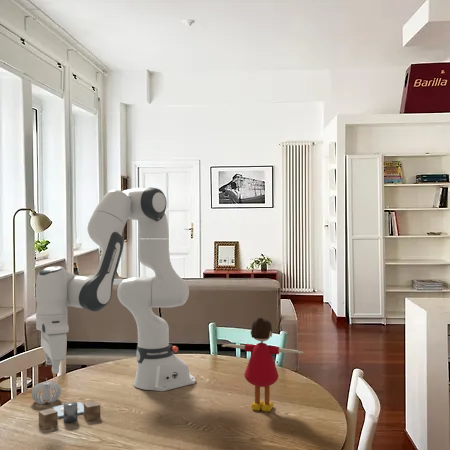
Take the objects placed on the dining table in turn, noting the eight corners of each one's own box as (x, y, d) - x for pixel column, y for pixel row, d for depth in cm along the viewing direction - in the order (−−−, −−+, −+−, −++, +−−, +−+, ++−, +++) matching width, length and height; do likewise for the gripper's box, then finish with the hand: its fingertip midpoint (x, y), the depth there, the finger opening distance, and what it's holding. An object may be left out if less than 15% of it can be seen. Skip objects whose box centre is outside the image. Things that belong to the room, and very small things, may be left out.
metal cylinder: (75, 417, 163) (75, 401, 163) (78, 421, 159) (78, 405, 159) (62, 419, 161) (62, 403, 161) (65, 424, 157) (65, 407, 157)
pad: (80, 403, 174) (80, 401, 174) (87, 413, 166) (87, 410, 166) (52, 408, 170) (52, 406, 170) (58, 418, 162) (58, 416, 162)
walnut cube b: (51, 421, 160) (51, 408, 160) (57, 425, 157) (57, 411, 157) (38, 424, 157) (38, 411, 157) (44, 428, 154) (44, 415, 154)
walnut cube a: (96, 413, 166) (96, 400, 166) (100, 417, 162) (100, 405, 162) (84, 415, 164) (83, 403, 164) (87, 420, 161) (87, 407, 160)
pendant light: (52, 407, 171) (51, 314, 170) (25, 405, 172) (25, 313, 172) (66, 397, 180) (65, 309, 179) (41, 395, 182) (40, 308, 181)
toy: (305, 409, 169) (306, 315, 169) (299, 422, 159) (299, 322, 158) (226, 399, 178) (227, 310, 177) (215, 411, 168) (215, 316, 167)
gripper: (35, 316, 165) (35, 360, 165) (46, 330, 147) (47, 379, 147) (56, 314, 168) (56, 358, 168) (70, 327, 150) (70, 376, 150)
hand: (52, 368), depth 157 cm, fingers open, 8 cm apart
